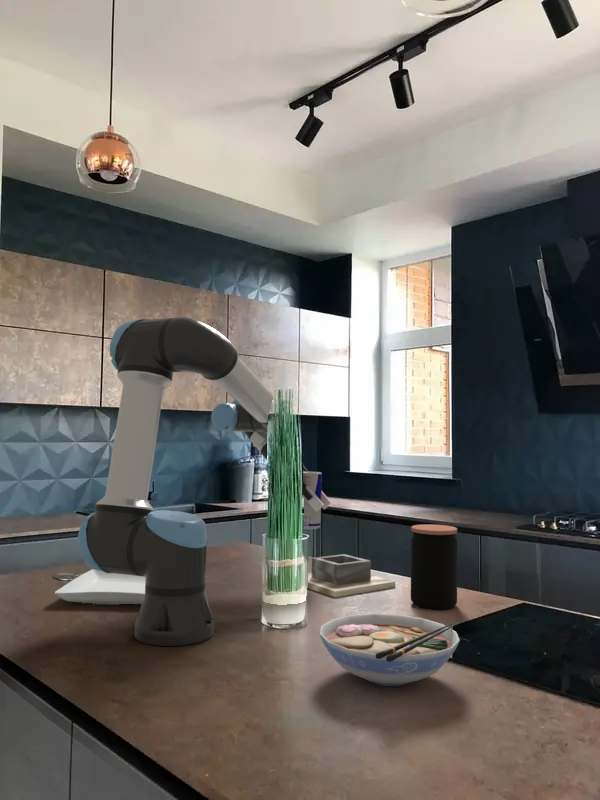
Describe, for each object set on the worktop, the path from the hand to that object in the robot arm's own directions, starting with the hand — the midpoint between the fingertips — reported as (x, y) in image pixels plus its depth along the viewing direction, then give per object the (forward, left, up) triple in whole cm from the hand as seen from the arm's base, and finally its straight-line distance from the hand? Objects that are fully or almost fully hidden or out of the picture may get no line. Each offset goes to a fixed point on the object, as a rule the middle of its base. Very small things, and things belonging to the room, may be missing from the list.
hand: (323, 506), depth 178 cm
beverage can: (+3, +2, -6) cm, 7 cm away
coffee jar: (-32, -8, -20) cm, 39 cm away
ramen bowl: (-60, +33, -20) cm, 72 cm away
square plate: (+16, +47, -21) cm, 54 cm away
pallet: (-4, -3, -20) cm, 21 cm away
